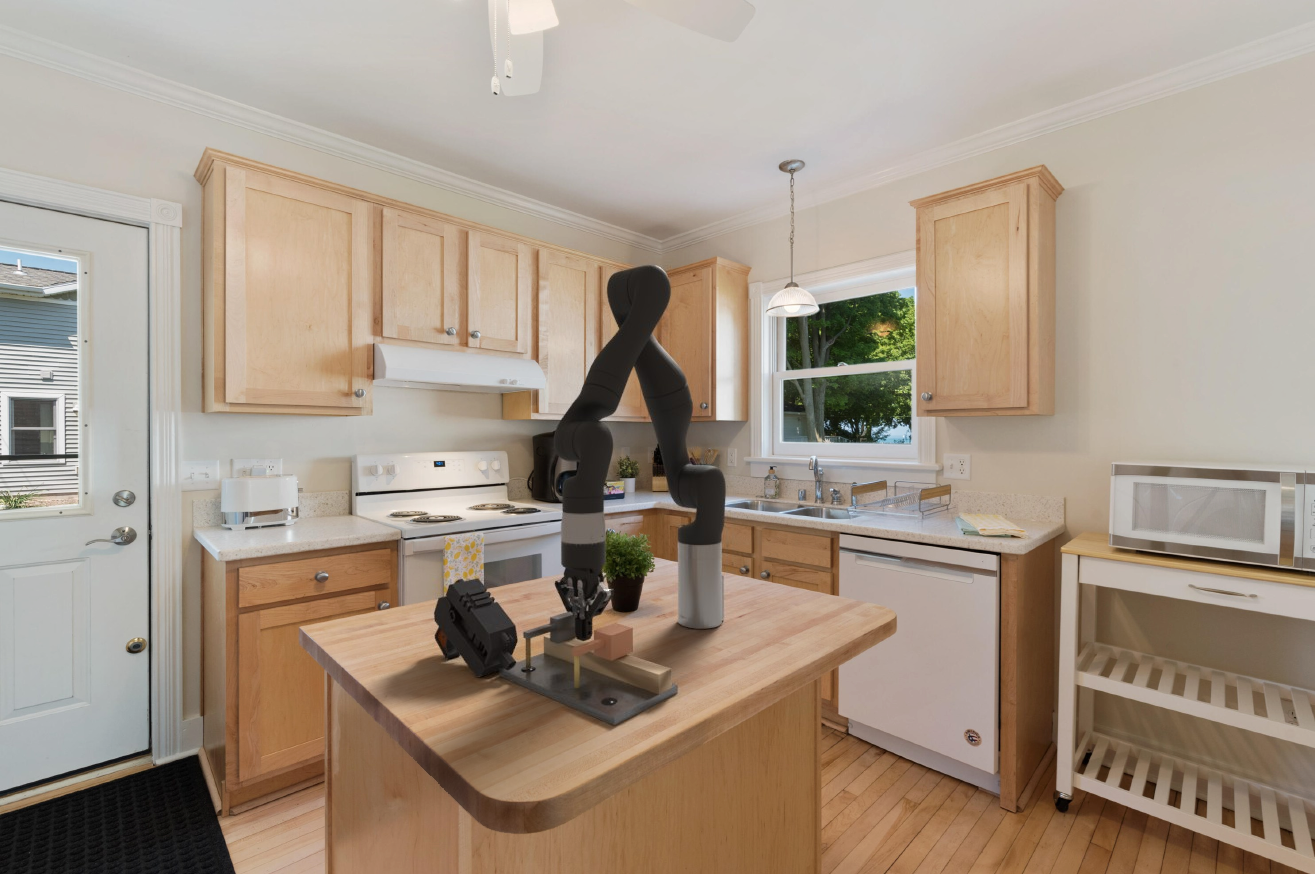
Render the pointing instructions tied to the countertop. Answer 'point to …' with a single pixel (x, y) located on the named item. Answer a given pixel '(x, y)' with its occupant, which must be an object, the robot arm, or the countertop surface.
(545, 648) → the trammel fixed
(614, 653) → the slider leg
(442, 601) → the tool
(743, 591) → the countertop surface
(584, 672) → the hole plate
